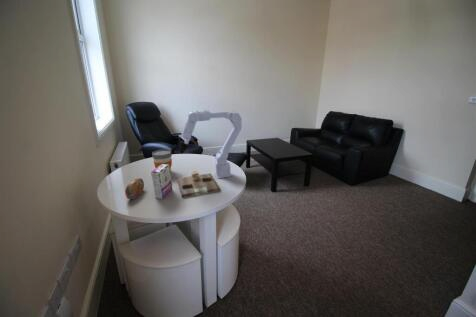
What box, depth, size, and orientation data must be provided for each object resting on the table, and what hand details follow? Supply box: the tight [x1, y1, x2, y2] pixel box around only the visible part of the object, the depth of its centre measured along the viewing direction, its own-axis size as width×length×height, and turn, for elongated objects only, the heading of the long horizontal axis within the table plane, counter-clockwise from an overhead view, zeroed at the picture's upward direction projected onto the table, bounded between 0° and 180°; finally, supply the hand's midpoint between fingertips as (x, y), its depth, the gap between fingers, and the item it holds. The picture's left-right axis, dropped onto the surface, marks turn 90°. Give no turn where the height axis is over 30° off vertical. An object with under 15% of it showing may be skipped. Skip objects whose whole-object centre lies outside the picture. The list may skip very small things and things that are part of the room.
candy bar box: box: [150, 164, 173, 200], centre depth 122 cm, size 11×5×16 cm, turn 168°
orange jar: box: [152, 149, 173, 174], centre depth 151 cm, size 13×13×15 cm
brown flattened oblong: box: [124, 178, 145, 200], centre depth 123 cm, size 15×3×8 cm, turn 174°
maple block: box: [190, 170, 200, 180], centre depth 139 cm, size 4×4×4 cm
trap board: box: [176, 173, 221, 198], centre depth 134 cm, size 22×22×2 cm
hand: (180, 150), depth 136 cm, fingers open, 7 cm apart
